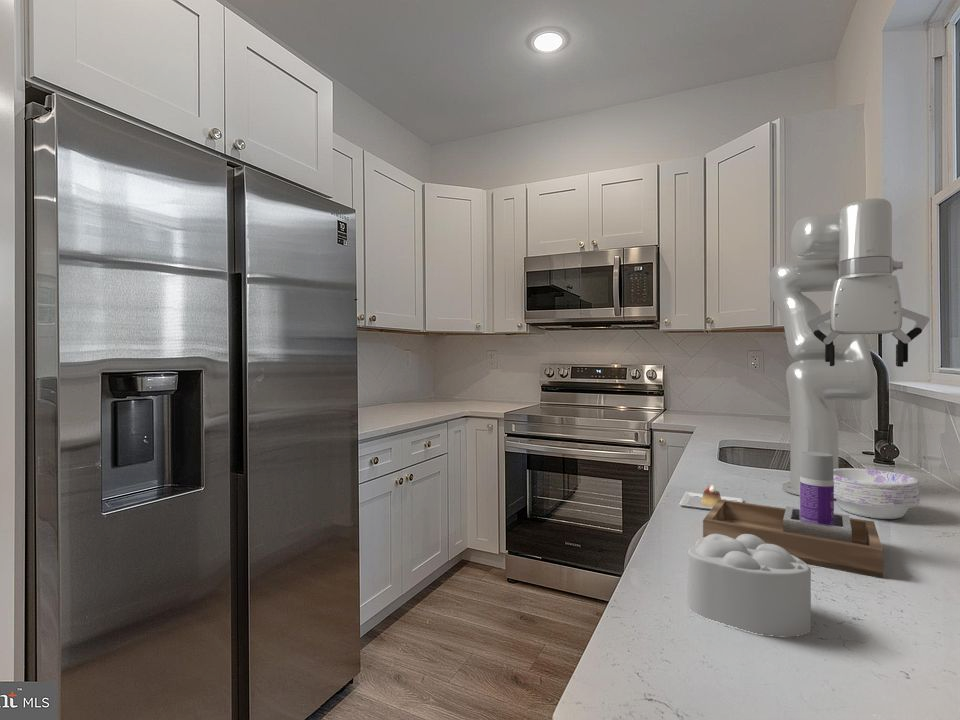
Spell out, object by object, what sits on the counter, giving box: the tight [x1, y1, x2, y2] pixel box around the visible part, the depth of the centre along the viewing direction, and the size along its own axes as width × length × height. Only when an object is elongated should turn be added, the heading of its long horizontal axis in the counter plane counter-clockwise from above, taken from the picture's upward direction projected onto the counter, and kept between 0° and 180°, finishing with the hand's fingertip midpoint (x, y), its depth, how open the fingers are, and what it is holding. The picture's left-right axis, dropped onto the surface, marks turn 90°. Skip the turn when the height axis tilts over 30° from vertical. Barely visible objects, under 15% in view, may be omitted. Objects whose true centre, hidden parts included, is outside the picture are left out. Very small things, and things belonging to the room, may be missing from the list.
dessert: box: [678, 483, 744, 511], centre depth 110 cm, size 12×12×5 cm
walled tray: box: [702, 499, 884, 579], centre depth 86 cm, size 16×24×4 cm, turn 56°
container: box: [799, 451, 835, 526], centre depth 83 cm, size 5×5×15 cm
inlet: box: [783, 506, 852, 543], centre depth 83 cm, size 9×9×4 cm
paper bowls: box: [833, 467, 921, 520], centre depth 104 cm, size 15×15×8 cm
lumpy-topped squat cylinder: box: [686, 534, 812, 637], centre depth 62 cm, size 10×13×9 cm
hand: (864, 366), depth 90 cm, fingers open, 9 cm apart
